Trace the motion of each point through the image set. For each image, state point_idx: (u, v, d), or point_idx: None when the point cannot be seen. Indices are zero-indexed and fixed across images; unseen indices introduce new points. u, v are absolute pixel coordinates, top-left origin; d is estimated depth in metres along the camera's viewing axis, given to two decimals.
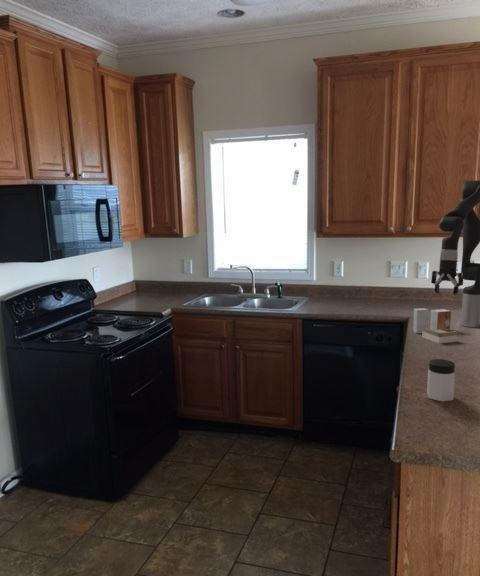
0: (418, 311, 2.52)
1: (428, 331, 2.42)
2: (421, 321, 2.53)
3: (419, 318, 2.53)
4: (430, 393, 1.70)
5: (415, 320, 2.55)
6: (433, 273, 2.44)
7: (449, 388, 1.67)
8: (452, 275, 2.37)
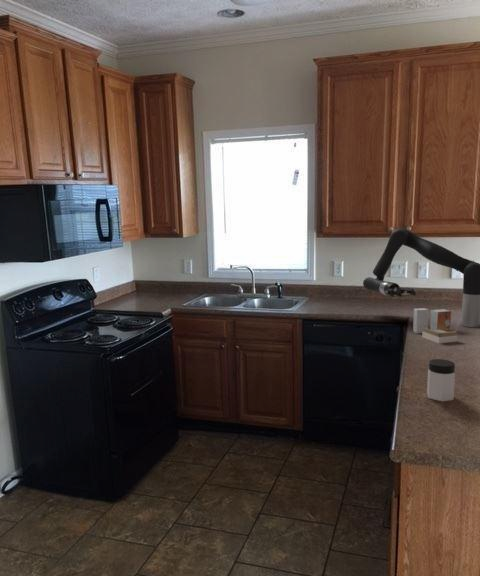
0: (418, 311, 2.52)
1: (428, 331, 2.42)
2: (421, 321, 2.53)
3: (419, 318, 2.53)
4: (430, 393, 1.70)
5: (415, 320, 2.55)
6: (407, 292, 2.74)
7: (449, 388, 1.67)
8: None
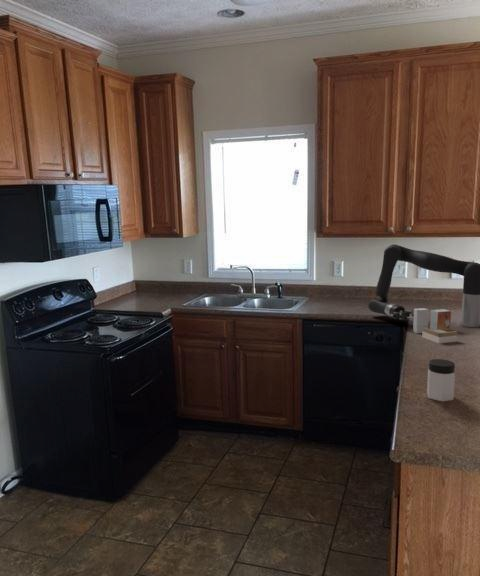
0: (418, 311, 2.52)
1: (428, 331, 2.42)
2: (421, 321, 2.53)
3: (419, 318, 2.53)
4: (430, 393, 1.70)
5: (415, 320, 2.55)
6: None
7: (449, 388, 1.67)
8: None
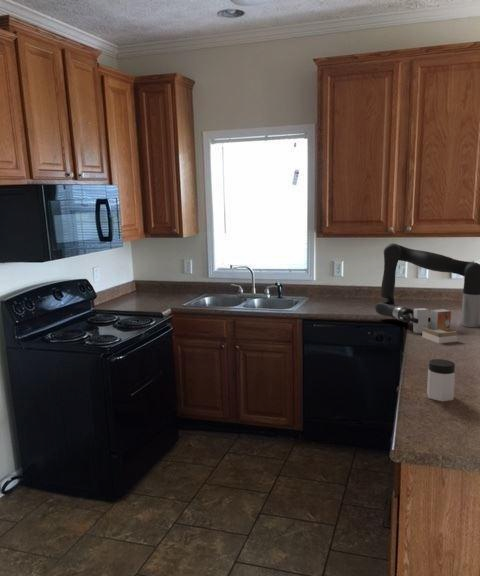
0: (418, 311, 2.52)
1: (428, 331, 2.42)
2: (421, 321, 2.53)
3: (418, 318, 2.53)
4: (430, 393, 1.70)
5: None
6: None
7: (449, 388, 1.67)
8: None
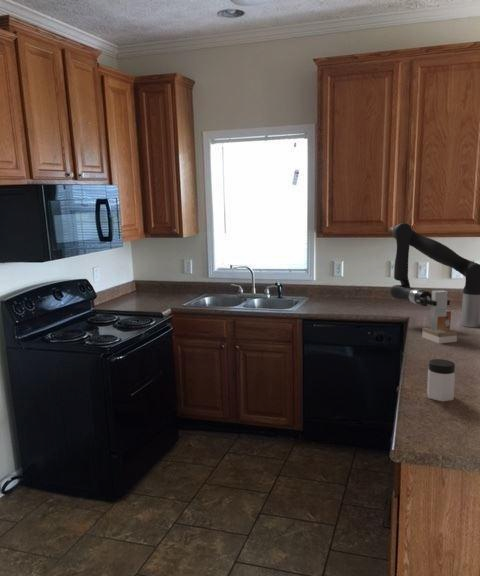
0: (436, 293, 2.38)
1: (428, 331, 2.42)
2: (439, 303, 2.39)
3: (437, 301, 2.39)
4: (430, 393, 1.70)
5: None
6: None
7: (449, 388, 1.67)
8: None
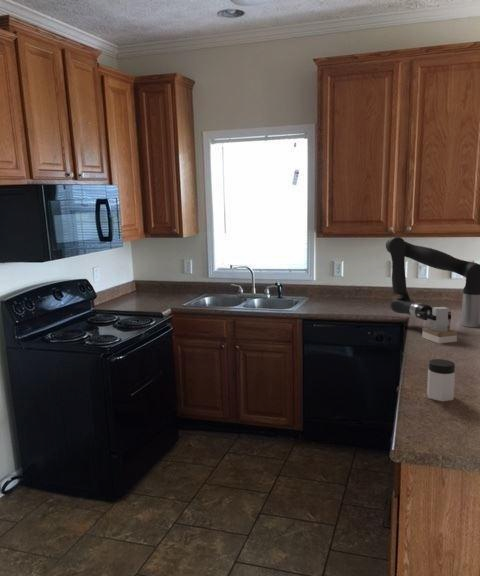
0: (437, 310, 2.38)
1: (428, 331, 2.42)
2: (440, 320, 2.39)
3: (438, 317, 2.39)
4: (430, 393, 1.70)
5: None
6: None
7: (449, 388, 1.67)
8: None
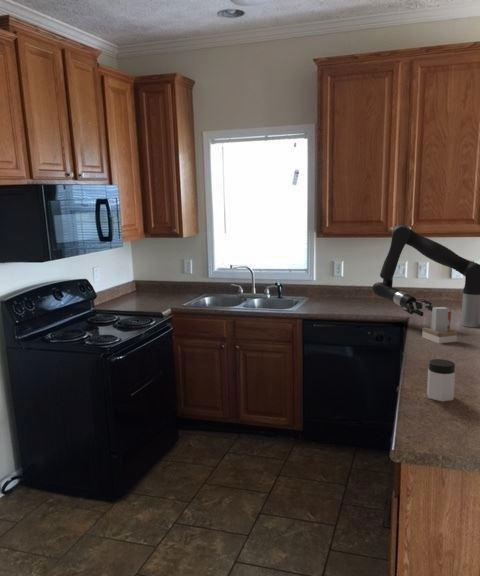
0: (437, 310, 2.38)
1: (428, 331, 2.42)
2: (440, 320, 2.39)
3: (438, 317, 2.39)
4: (430, 393, 1.70)
5: (434, 319, 2.41)
6: None
7: (449, 388, 1.67)
8: None
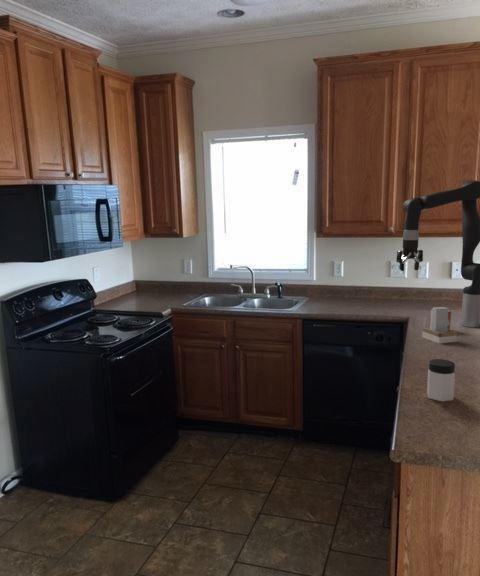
0: (437, 310, 2.38)
1: (428, 331, 2.42)
2: (440, 320, 2.39)
3: (438, 317, 2.39)
4: (430, 393, 1.70)
5: (434, 319, 2.41)
6: None
7: (449, 388, 1.67)
8: None
